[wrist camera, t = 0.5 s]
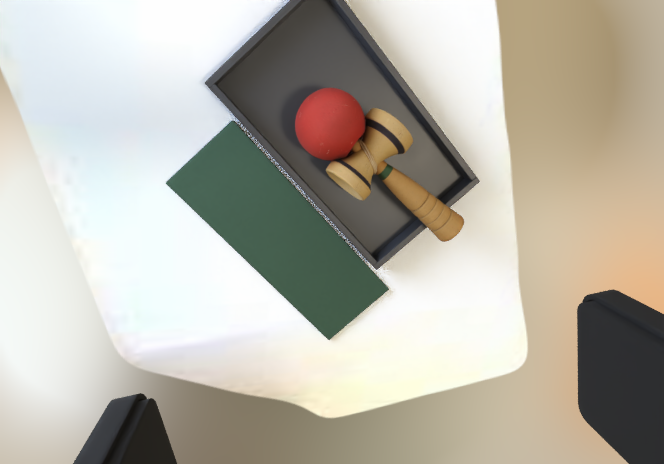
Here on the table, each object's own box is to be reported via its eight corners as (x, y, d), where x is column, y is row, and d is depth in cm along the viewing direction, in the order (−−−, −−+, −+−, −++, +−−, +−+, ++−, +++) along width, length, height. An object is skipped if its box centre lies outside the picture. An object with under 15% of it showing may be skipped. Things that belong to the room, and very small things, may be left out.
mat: (166, 182, 39) (165, 183, 39) (232, 120, 38) (232, 120, 38) (328, 338, 46) (328, 340, 45) (388, 288, 45) (388, 289, 44)
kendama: (471, 186, 42) (332, 60, 37) (496, 208, 36) (335, 63, 31) (416, 241, 44) (278, 130, 39) (432, 270, 38) (272, 144, 33)
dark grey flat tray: (208, 84, 37) (204, 82, 35) (319, -23, 36) (321, -30, 34) (372, 263, 44) (376, 270, 42) (470, 178, 43) (480, 181, 41)
